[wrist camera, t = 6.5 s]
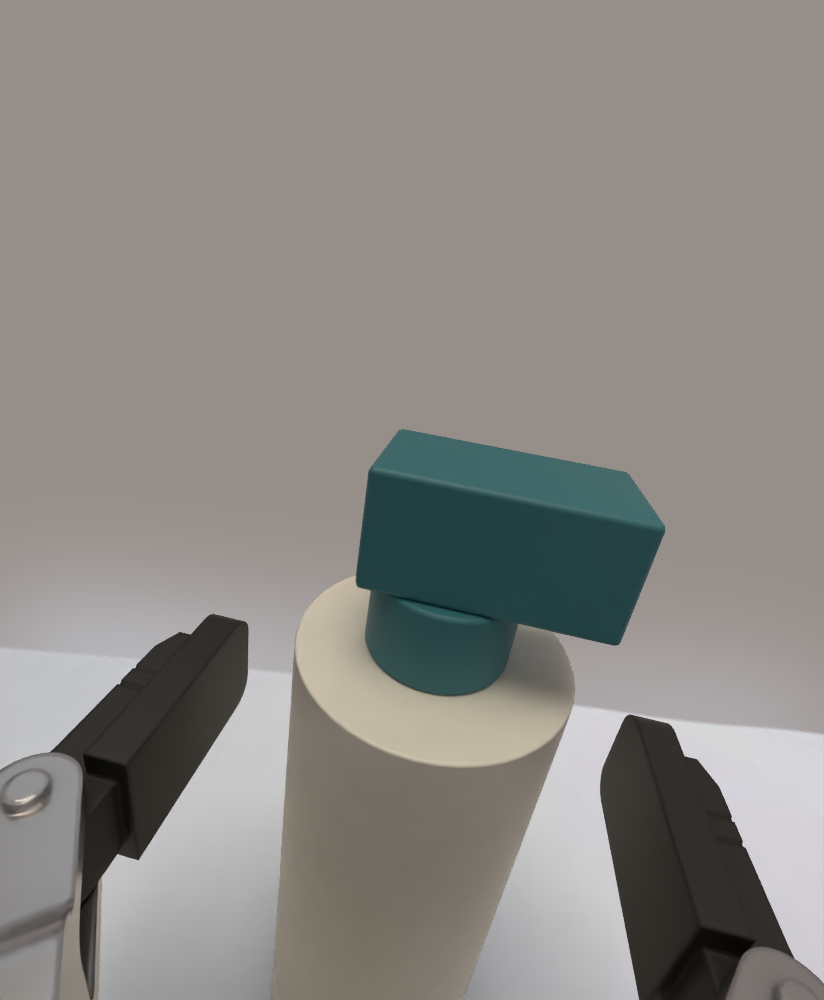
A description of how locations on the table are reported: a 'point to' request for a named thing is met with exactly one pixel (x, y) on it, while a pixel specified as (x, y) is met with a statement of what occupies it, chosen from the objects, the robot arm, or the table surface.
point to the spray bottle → (440, 706)
